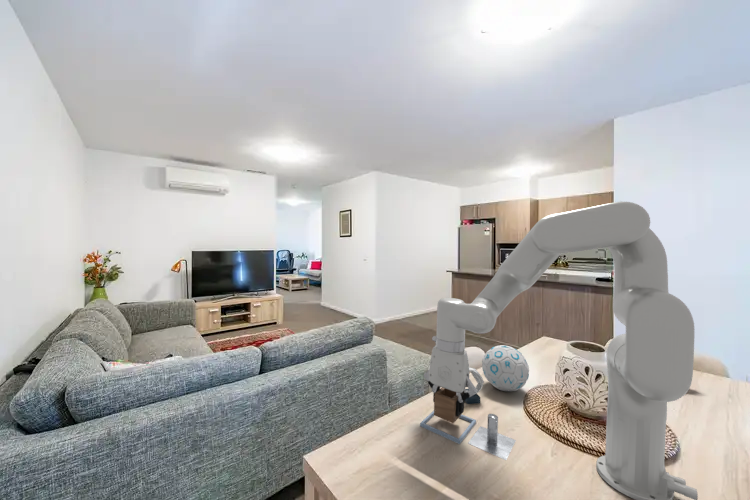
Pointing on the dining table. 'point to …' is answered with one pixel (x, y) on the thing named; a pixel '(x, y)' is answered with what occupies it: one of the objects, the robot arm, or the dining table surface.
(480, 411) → the dining table surface
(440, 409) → the collar
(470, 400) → the watch
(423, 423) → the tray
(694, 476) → the dining table surface
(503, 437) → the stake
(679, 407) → the dining table surface
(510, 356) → the puzzle ball
